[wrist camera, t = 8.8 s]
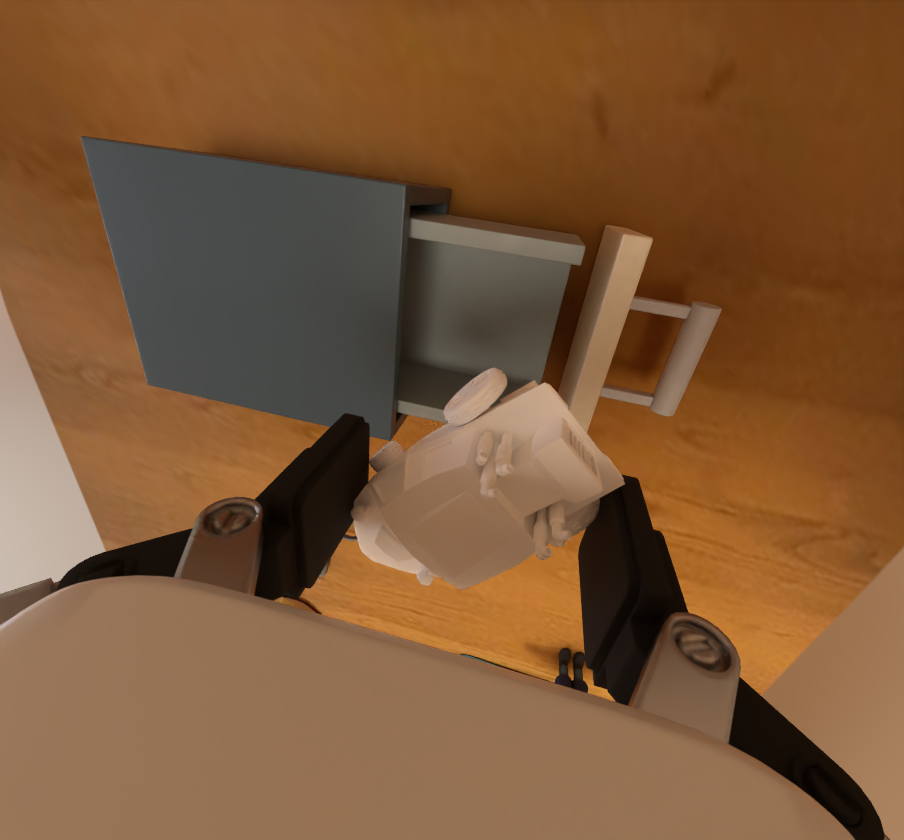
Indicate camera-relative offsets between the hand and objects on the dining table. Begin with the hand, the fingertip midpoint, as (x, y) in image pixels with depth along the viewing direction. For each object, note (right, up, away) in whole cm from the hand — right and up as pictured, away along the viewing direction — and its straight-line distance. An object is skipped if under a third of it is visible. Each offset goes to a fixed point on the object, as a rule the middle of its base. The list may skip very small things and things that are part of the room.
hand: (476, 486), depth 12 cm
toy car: (0, +1, +1) cm, 1 cm away
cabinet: (-9, +12, +16) cm, 22 cm away
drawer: (+4, +9, +14) cm, 17 cm away
